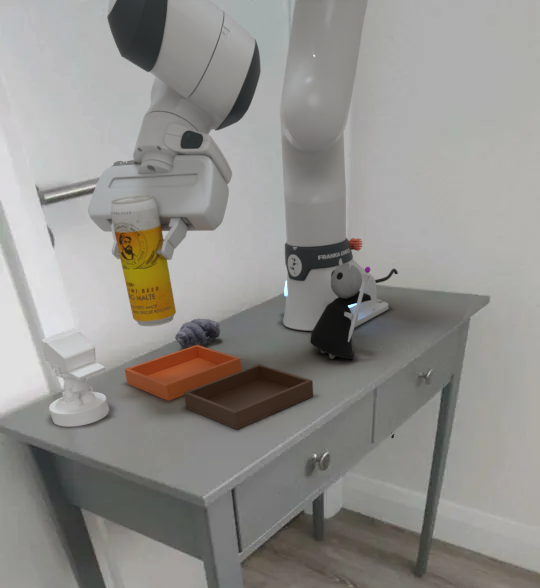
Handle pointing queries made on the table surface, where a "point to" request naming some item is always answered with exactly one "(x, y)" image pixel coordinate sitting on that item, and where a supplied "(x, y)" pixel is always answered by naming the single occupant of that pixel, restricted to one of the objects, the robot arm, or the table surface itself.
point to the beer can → (143, 259)
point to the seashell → (197, 332)
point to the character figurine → (74, 379)
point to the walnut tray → (248, 395)
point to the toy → (341, 312)
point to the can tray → (182, 371)
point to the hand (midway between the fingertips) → (140, 256)
